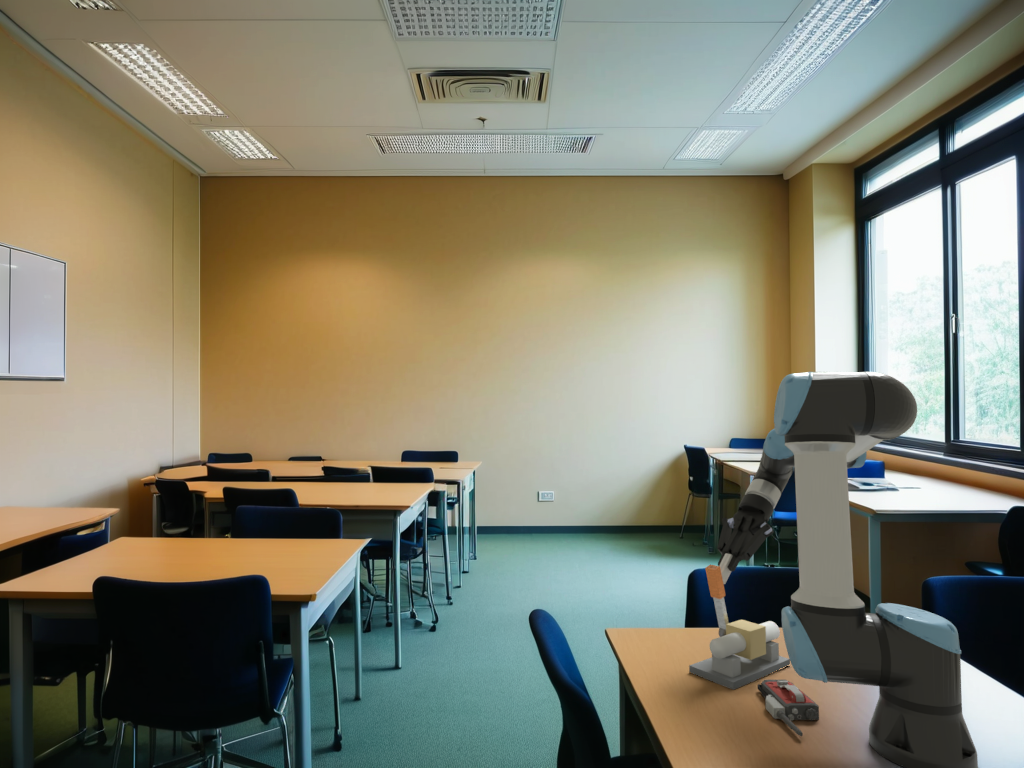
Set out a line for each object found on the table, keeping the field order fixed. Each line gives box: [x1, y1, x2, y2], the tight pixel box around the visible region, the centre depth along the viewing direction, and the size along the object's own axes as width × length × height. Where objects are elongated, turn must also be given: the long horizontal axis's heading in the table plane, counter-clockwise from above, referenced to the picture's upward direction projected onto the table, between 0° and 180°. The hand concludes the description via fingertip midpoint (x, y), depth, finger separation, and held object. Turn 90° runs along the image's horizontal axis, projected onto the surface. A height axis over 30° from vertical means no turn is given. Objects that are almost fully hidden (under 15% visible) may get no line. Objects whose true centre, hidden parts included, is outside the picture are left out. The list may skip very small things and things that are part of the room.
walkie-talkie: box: [757, 679, 820, 737], centre depth 116 cm, size 9×4×20 cm
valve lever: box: [705, 564, 730, 637], centre depth 140 cm, size 3×3×17 cm
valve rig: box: [688, 619, 791, 690], centre depth 138 cm, size 22×11×10 cm, turn 126°
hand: (719, 580), depth 141 cm, fingers closed
